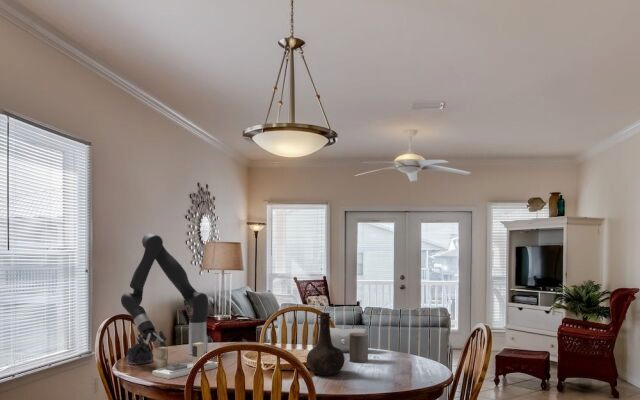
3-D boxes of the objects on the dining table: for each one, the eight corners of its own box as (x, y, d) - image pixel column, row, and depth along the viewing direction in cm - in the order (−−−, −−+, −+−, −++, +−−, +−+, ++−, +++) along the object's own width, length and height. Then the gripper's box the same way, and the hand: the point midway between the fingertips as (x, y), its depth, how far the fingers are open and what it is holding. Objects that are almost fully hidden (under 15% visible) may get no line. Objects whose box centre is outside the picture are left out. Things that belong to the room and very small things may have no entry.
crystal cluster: (152, 365, 290) (154, 345, 292) (124, 365, 287) (126, 344, 288) (153, 362, 303) (155, 343, 304) (126, 361, 299) (128, 342, 301)
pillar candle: (346, 362, 293) (346, 332, 294) (352, 358, 302) (352, 329, 303) (364, 363, 289) (364, 333, 290) (370, 359, 298) (370, 330, 299)
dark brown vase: (333, 380, 257) (333, 316, 258) (299, 375, 265) (299, 314, 267) (351, 371, 272) (350, 311, 274) (318, 367, 281) (318, 309, 283)
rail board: (202, 363, 290) (203, 339, 291) (218, 367, 283) (219, 342, 284) (152, 375, 267) (152, 348, 267) (168, 379, 259) (169, 352, 260)
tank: (320, 354, 313) (320, 331, 314) (324, 348, 329) (324, 326, 330) (366, 355, 309) (366, 332, 310) (368, 349, 325) (368, 327, 326)
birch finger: (163, 367, 283) (163, 346, 284) (167, 368, 281) (168, 347, 282) (155, 368, 280) (156, 347, 280) (160, 369, 278) (160, 348, 278)
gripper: (135, 321, 283) (148, 348, 276) (159, 318, 295) (173, 343, 287) (128, 331, 286) (141, 357, 279) (152, 328, 298) (166, 353, 290)
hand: (157, 350), depth 283 cm, fingers open, 8 cm apart
